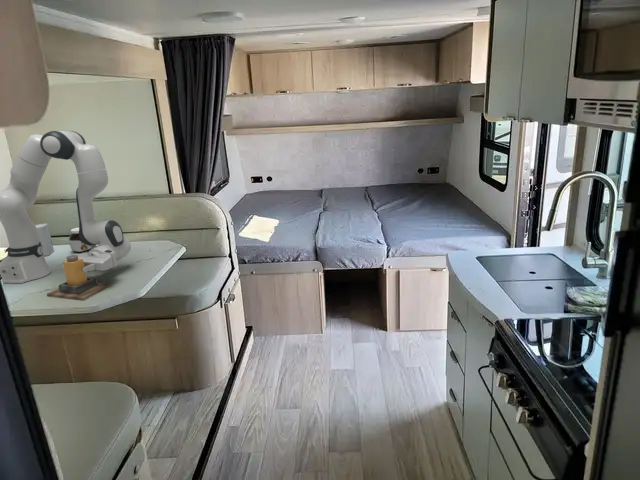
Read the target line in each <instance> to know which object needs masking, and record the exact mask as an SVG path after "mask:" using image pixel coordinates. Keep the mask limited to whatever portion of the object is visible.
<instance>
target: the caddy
mask: <svg viewBox="0 0 640 480" xmlns="http://www.w3.org/2000/svg"><path fill="white" fill-rule="evenodd" d="M110 287H111V284H110V283H104V282H103V283H102V282H98V281H97V278H95V277H89V276H88V277H87V281H86V282H84V283H82V284H80V285H78V286H73V285H68V284H67V281H65V282H63V283H60V284H58V288H56V289H54V290H52V291H50V292H47V293H46V296H47V297H50V298H51V297H52V298H61V299H67V300H76V301H83V300H84V301H86V300H88V299H89V297H90V296H91V297H93V296H95V295H97V294H98V293H100V292H103V291H104V290H106V289H108V288H110ZM96 293H97V294H96ZM94 294H95V295H94ZM92 295H93V296H92ZM91 297H90V298H91ZM87 298H88V299H87ZM85 299H86V300H85Z"/></svg>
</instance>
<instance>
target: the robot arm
mask: <svg viewBox="0 0 640 480" xmlns="http://www.w3.org/2000/svg"><path fill="white" fill-rule="evenodd" d="M52 158H54V159H58V160H59V159H61V160H65V161H66V160H71V161H72V162H73V163H74V166H75V169H76V170H75V171H76V173H77V180H78V187H77V188H76V191H75V200H76V207H77V215H78V224H79V225H78V226H79V227H78V228H79V237H80V239H81V240H82V242H83V243H84V244H86V245H88V246H92V245H98V244H100V246H99V245H98V246H96V247H92V249H91V250H90V251H88V252H87V254H85V253H76V255H78V258H81V259H83V262H84V267H82V268H81V270H82V272H86V273H87V272H91V271H98V272H99V271H101V272H103V271H108V270H109V269H111V268H115V267H117V266H118V261H120V260H122V259H123V258H125V257H126V256H127V255H128V254H129V253H130V251H131V248H132V245H131V241H130V240H129V239H128V238H127V237H126V236H125V235H124V232H123V229H122V227H121V226H122V225H120V224H119V223H118V222H117V221H115V220H103V221H96V220H95V216H94V209H93V201H94V198H96V196H97V195H99V194H100V193H102V192H103V191H104V190H105V189H106V187H107V186H108V183H109V175H108V171H107V168H106V164H105V161H104V159H103V156H102V154H101V151H100V149H99V148H98V147H97V146H95V145H93V144H88V143H87V142H86V140H85V138H84V136H83V135H82V134H80V133H79V132H77V131H74V130H66V129H65V130H64V129H62V130H51V131H48V132H46V133H45V134H37V133H35V134H31V135H29V136H28V137H27V139H26V140H25V141H24V142H23V144H22V146H21V147H20V149H19V151H18V153H17V155H16V158H15V160H14V162H13V164H12V166H11V169H10V179H9V184H8V186H6V188H5V189H3V190H0V210H1V214H2V216H1V217H0V223H1V224H2V226H3V228H4V231H5V235H6V237H7V242H8V245H9V247H7V248H6V249H4V250H3V252H4V253H7V254H6V257H4V258H3V259H2V260H1V261H0V274H1V277H2V282H3V283H2V284H22V283H27V282H29V281H33V280H38V279H40V278H43V277H46V276H48V275H49V274H50V273H51V272H52V271H51V269H50V267H49V265H48V263H47V262H46V260H45V256H43V249H42V245H41V242H40V241H39V238H38V233H37V229H36V226H35V225H36V224H35V223H34V222H33V221H32V220H31V218H30V216H29V214H28V210H29V209H30V208H32V207H33V205H34V204H35V203H36V201H37V195H38V191H39V187H40V183H41V181H42V179H43V177H44V174H45V172H46V170H47V167H48V166H49V163H50V161H51V159H52ZM66 260H67V259H66V258H63V262H64V261H66ZM61 269H62V271H64V266H63V265H62V267H61Z"/></svg>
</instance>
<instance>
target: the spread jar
mask: <svg viewBox="0 0 640 480" xmlns="http://www.w3.org/2000/svg"><path fill="white" fill-rule="evenodd" d="M70 233H71V234H70V235H69V238H68V242H69V246H70V250H71V251H72V252H73V253H76V254H85V253H89V251H90V250H91V249H93V248H95V246H96V245H92V246H88V245H86V244H84V243H83V242H82V240H81V239H80V237H79V227H74V228H71V229H70ZM96 247H97V246H96Z"/></svg>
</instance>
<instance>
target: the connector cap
mask: <svg viewBox="0 0 640 480" xmlns="http://www.w3.org/2000/svg"><path fill="white" fill-rule="evenodd" d="M66 259H67V260H66V261H64V260H63V261H62V266H64V270H63V271H64V274H65V279H66V282H67V284H68V285H73V286H78V285H80V284H82V283H84V282H86V281H87V272H82V270H81V268H82V267H84V262H83V259H81V258H78V255H77V254H73V255H72V254H71V255H68V256H66Z"/></svg>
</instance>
